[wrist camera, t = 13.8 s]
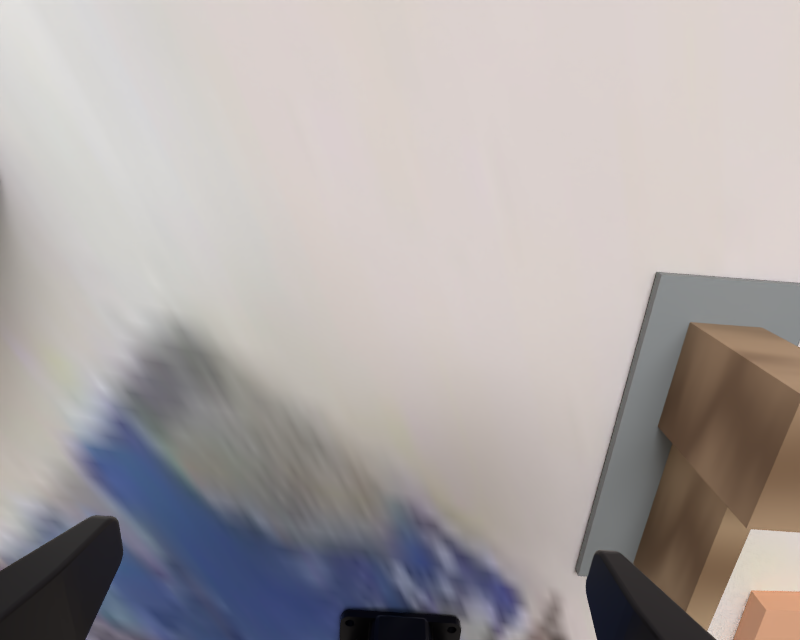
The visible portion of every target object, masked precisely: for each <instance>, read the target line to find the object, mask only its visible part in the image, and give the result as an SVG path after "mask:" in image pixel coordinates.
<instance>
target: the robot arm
mask: <svg viewBox="0 0 800 640" xmlns="http://www.w3.org/2000/svg"><path fill="white" fill-rule="evenodd" d="M122 557H123V545H122V539H121V533H120V528H119V522H118V520H117V519H116V518H115V517H113V516H99V515H95V516H91V517H89V518H87V519H86V520H84V521H82V522H81V523H79V524H77V525H76V526H74V527H72V528H71V529H69V530H67V531H66V532H64V533H62V534H61V535H59V536H57V537H56V538H54V539H53V540H51V541H49V542H48V543H46V544H44V545H43V546H41V547H39V548H38V549H36V550H34V551H33V552H31V553H29V554H28V555H26V556H24V557H23V558H21V559H19V560H18V561H16V562H14V563H13V564H11V565H10V566H8V567H6V568H5V569H3V570H1V571H0V640H85V639H86V637H87V635H88V633H89V631H90V628H91V626H92V624H93V622H94V620H95V618H96V615H97V613H98V611H99V609H100V607H101V605H102V602H103V600H104V598H105V596H106V594H107V592H108V590H109V587H110V585H111V583H112V581H113V579H114V577H115V574H116V572H117V570H118V568H119V566H120V563H121V560H122ZM586 594H587V599H588V603H589V607H590V612H591V616H592V620H593V624H594V628H595V633H596V637H597V640H716V639H715V638H714V637H713V636H712V635H710V634H709V633H708V632H707V631H706V630H705V629H704V628H703V627H702V626H701V625H699V624H698V623H697V622H696V621H695V620H694V619H693V618H692V617H691V616H690V615H688V614H687V613H686V612H685V611H684V610H683V609H682V608H681V607H680V606H679V605H677V604H676V603H675V602H674V601H673V600H672V599H671V598H670V597H669V596H668V595H667V594H665V593H664V592H663V591H662V590H661V589H660V588H659V587H658V586H657V585H656V584H654V583H653V582H652V581H651V580H650V579H649V578H648V577H647V576H646V575H645V574H643V573H642V572H641V571H640V570H639V569H638V568H637V567H636V566H635V565H634V564H632V563H631V562H630V561H629V560H628V559H627V558H626V557H625V556H624V555H622V554H621V553H620V552H618V551H611V550H597V551H596V552H595V553H594V555H593V559H592V562H591V566H590V569H589V573H588V576H587V580H586ZM460 633H461V626H460V621H459V619H458V618H456V617H452V616H437V615H422V614H407V613H392V612H377V611H362V610H346V611H344V612H343V613H342V616H341V623H340V640H459V639H460Z"/></svg>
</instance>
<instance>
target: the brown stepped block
mask: <svg viewBox="0 0 800 640" xmlns="http://www.w3.org/2000/svg"><path fill="white" fill-rule="evenodd" d="M658 427H659V429H660V430H661V431H662V432H663V433H664V434H665V435H666V437H667V438H668V439H669V440H670V441H671V442H672V446H671V449H670V452H669V456H668V459H667V462H666V465H665V468H664V471H663V474H662V477H661V480H660V483H659V486H658V489H657V492H656V495H655V498H654V501H653V504H652V507H651V510H650V514H649V517H648V520H647V523H646V526H645V529H644V532H643V535H642V538H641V541H640V544H639V547H638V550H637V553H636V556H635V559H634V562H633V563H634V565H635V566H636V567H637V568H638V569H639V570H640V571H641V572H642V573H643V574H645V575H646V576H647V577H648V578H649V579H650V580H651V581H652V582H653V583H654V584H656V585H657V586H658V587H659V588H660V589H661V590H662V591H663V592H664V593H665V594H667V595H668V596H669V597H670V598H671V599H672V600H673V601H674V602H675V603H676V604H677V605H679V606H680V607H681V608H682V609H683V610H684V611H685V612H686V613H687V614H688V615H690V616H691V617H692V618H693V619H694V620H695V621H696V622H697V623H698V624H699V625H701V626H702V627H703V628H704V629H705V630H706V631H707V630H708V628H709V625H710V623H711V621H712V618H713V616H714V614H715V611H716V609H717V607H718V604H719V602H720V600H721V597H722V595H723V593H724V590H725V588H726V586H727V583H728V581H729V579H730V576H731V574H732V572H733V569H734V567H735V565H736V562H737V560H738V558H739V555H740V553H741V551H742V548H743V546H744V544H745V541H746V539H747V537H748V534H749V532H750V530H751V529H758V530H772V531H786V532H800V347H798V346H796V345H794V344H792V343H790V342H788V341H787V340H785V339H783V338H781V337H779V336H777V335H775V334H773V333H772V332H770V331H768V330H766V329H764V328H761V327H748V326H735V325H722V324H708V323H695V322H690V324H689V327H688V330H687V333H686V336H685V340H684V343H683V346H682V349H681V353H680V356H679V359H678V362H677V365H676V369H675V372H674V375H673V378H672V382H671V385H670V388H669V391H668V395H667V398H666V401H665V404H664V407H663V411H662V414H661V417H660V420H659V424H658Z"/></svg>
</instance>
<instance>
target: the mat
mask: <svg viewBox="0 0 800 640" xmlns="http://www.w3.org/2000/svg"><path fill="white" fill-rule="evenodd" d="M690 322H695V323H708V324H722V325H735V326H748V327H761V328H764V329H766V330H768V331H770V332H772V333H773V334H775V335H777V336H779V337H781V338H783V339H785V340H787V341H788V342H790V343H792V344H794V345H796V346H798V344H799V341H800V283H793V282H780V281H767V280H754V279H741V278H728V277H715V276H702V275H689V274H676V273H663V272H657V274H656V277H655V281H654V285H653V288H652V292H651V296H650V299H649V303H648V306H647V310H646V314H645V317H644V321H643V325H642V328H641V332H640V336H639V339H638V343H637V347H636V350H635V354H634V358H633V361H632V365H631V369H630V372H629V376H628V380H627V383H626V387H625V391H624V394H623V398H622V402H621V405H620V409H619V413H618V416H617V420H616V424H615V427H614V431H613V435H612V438H611V442H610V445H609V449H608V453H607V456H606V460H605V464H604V467H603V471H602V475H601V478H600V482H599V486H598V489H597V493H596V497H595V500H594V504H593V508H592V511H591V515H590V519H589V522H588V526H587V530H586V533H585V537H584V541H583V544H582V548H581V552H580V555H579V559H578V563H577V566H576V571H577V574H578V576H588V573H589V569H590V566H591V562H592V559H593V555H594V553H595V552H596V551H597V550H611V551H618V552H620V553H621V554H622V555H624V556H625V557H626V558H627V559H628V560H629V561H630V562H631V563H632V564H634V563H633V562H634V559H635V556H636V553H637V550H638V547H639V544H640V541H641V538H642V535H643V532H644V529H645V526H646V523H647V520H648V517H649V514H650V510H651V507H652V504H653V501H654V498H655V495H656V492H657V489H658V486H659V483H660V480H661V477H662V474H663V471H664V468H665V465H666V462H667V459H668V456H669V452H670V449H671V446H672V442H671V441H670V440H669V439H668V438H667V437H666V435H665V434H664V433H663V432H662V431H661V430H660V429H659V427H658V424H659V420H660V417H661V414H662V411H663V407H664V404H665V401H666V398H667V395H668V391H669V388H670V385H671V382H672V378H673V375H674V372H675V369H676V365H677V362H678V359H679V356H680V353H681V349H682V346H683V343H684V340H685V336H686V333H687V330H688V327H689V324H690Z"/></svg>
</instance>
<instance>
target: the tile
mask: <svg viewBox="0 0 800 640" xmlns="http://www.w3.org/2000/svg"><path fill="white" fill-rule="evenodd" d="M733 640H800V592H792V591H751V593H750V596H749V599H748V601H747V604H746V607H745V609H744V612H743V615H742V617H741V620H740V623H739V625H738V628H737V631H736V634H735V636H734V639H733Z"/></svg>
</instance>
